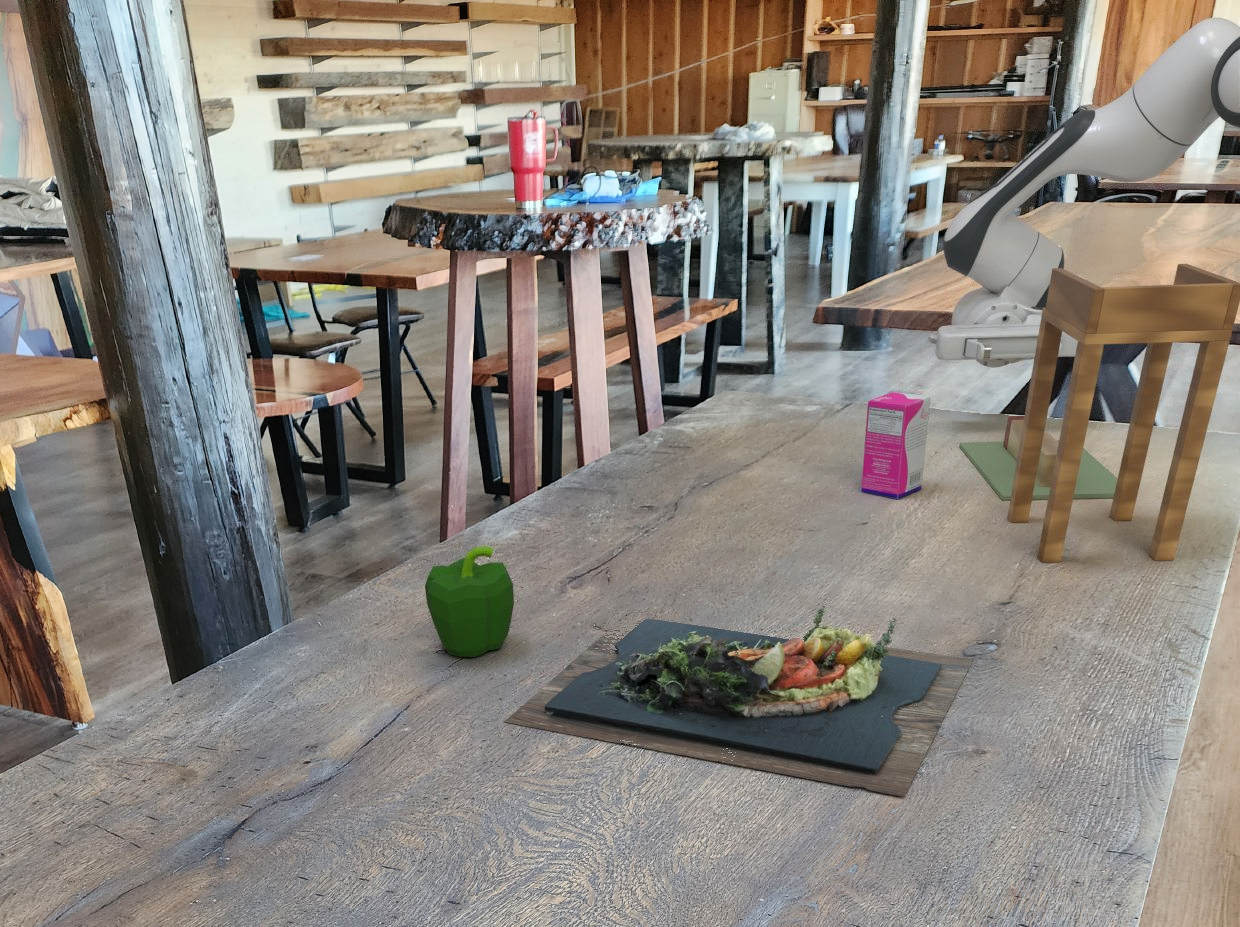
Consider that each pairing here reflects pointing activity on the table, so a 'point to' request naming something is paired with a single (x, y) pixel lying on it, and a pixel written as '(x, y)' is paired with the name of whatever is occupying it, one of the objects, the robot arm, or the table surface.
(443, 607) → the bell pepper
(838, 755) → the plated dish
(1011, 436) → the maple bar
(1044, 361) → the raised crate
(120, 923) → the table surface
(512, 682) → the table surface
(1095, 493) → the rubber mat
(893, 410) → the supplement box
